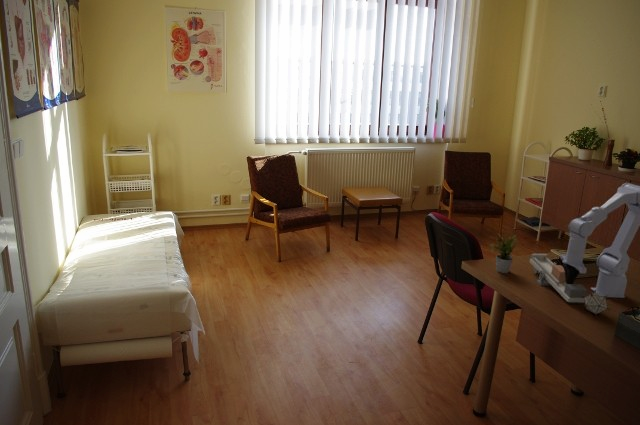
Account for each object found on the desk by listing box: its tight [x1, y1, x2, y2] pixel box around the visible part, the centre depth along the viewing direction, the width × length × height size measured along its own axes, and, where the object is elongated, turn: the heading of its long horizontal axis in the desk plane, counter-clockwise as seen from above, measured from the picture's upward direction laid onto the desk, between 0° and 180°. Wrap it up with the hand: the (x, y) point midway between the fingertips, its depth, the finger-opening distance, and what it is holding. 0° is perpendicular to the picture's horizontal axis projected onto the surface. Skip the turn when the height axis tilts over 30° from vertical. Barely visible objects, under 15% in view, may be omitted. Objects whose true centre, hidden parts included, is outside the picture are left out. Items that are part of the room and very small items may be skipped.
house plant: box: [488, 233, 521, 274], centre depth 213 cm, size 14×14×16 cm
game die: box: [582, 290, 611, 317], centre depth 178 cm, size 9×8×10 cm
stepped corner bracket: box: [533, 267, 583, 306], centre depth 199 cm, size 31×11×5 cm, turn 2°
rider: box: [551, 264, 566, 283], centre depth 197 cm, size 6×3×5 cm, turn 2°
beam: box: [529, 253, 588, 304], centre depth 199 cm, size 33×8×5 cm, turn 2°
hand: (569, 283), depth 189 cm, fingers closed
